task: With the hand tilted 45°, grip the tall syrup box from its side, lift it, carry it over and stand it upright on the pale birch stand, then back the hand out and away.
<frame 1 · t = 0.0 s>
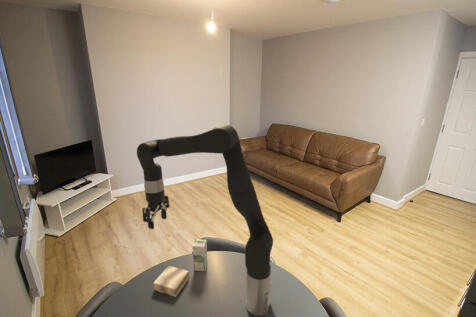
hand: (158, 223, 99), 29 cm above the table, tool pointing down, fingers open, 8 cm apart
syrup box: (200, 267, 114), on the table
birch stand: (172, 283, 104), on the table
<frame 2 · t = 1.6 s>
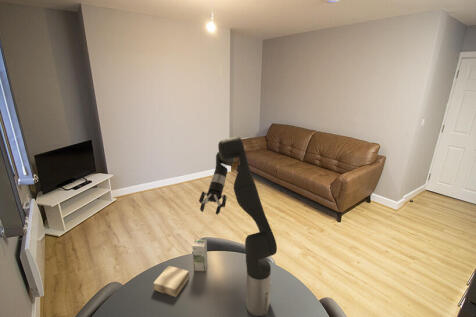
hand: (209, 212, 118), 24 cm above the table, tool tilted 45°, fingers open, 8 cm apart
nothing on the table moved.
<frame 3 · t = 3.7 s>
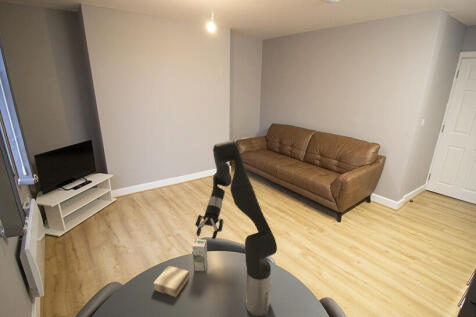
hand: (205, 237, 116), 13 cm above the table, tool tilted 45°, fingers open, 8 cm apart
nothing on the table moved.
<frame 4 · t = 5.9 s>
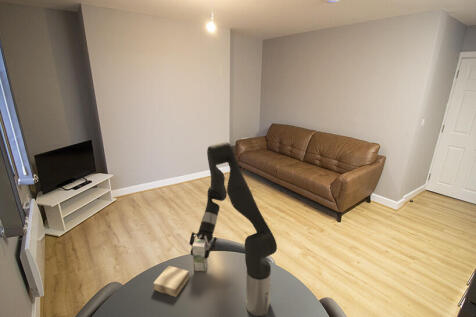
hand: (198, 256, 111), 7 cm above the table, tool tilted 45°, fingers closed on syrup box, 6 cm apart
syrup box: (200, 267, 114), on the table, touching gripper
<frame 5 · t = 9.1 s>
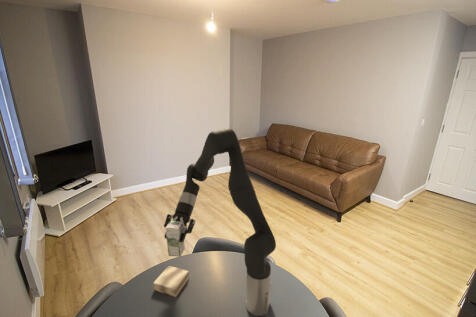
hand: (173, 240, 99), 22 cm above the table, tool tilted 45°, fingers closed on syrup box, 6 cm apart
syrup box: (176, 252, 103), point 14 cm above the table, touching gripper
when the fingers open (13 cm above the table, at t = 12.2 s): syrup box drops 1 cm, resting on birch stand.
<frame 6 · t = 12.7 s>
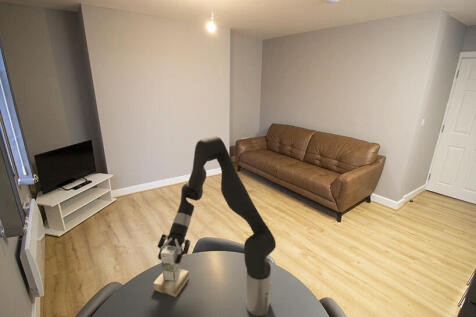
hand: (168, 261, 99), 13 cm above the table, tool tilted 45°, fingers open, 8 cm apart
syrup box: (172, 276, 103), point 4 cm above the table, touching birch stand
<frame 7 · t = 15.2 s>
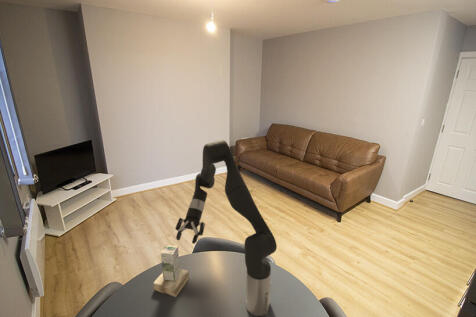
hand: (185, 241, 111), 14 cm above the table, tool tilted 45°, fingers open, 8 cm apart
nothing on the table moved.
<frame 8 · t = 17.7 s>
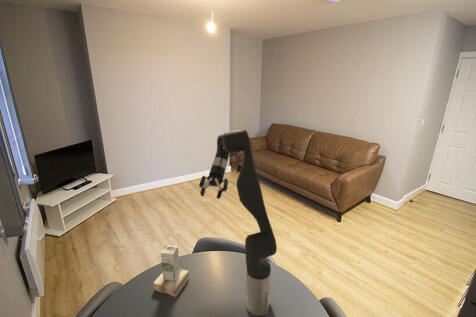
hand: (209, 197, 112), 35 cm above the table, tool tilted 45°, fingers open, 8 cm apart
nothing on the table moved.
at the end: syrup box 0.2 cm off-centre on the birch stand, point 3.8 cm above the birch stand's base; syrup box tilted 0°; the gripper is holding nothing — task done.
